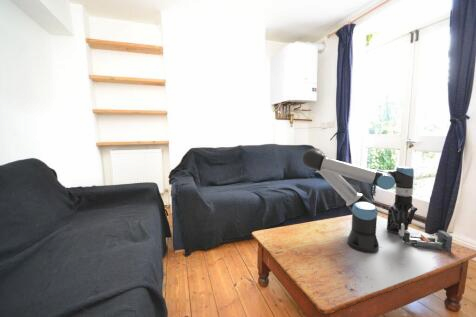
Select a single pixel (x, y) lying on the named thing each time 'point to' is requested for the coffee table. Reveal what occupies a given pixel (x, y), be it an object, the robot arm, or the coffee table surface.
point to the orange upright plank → (424, 238)
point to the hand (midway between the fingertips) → (401, 235)
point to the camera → (391, 224)
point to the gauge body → (442, 242)
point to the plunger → (407, 239)
